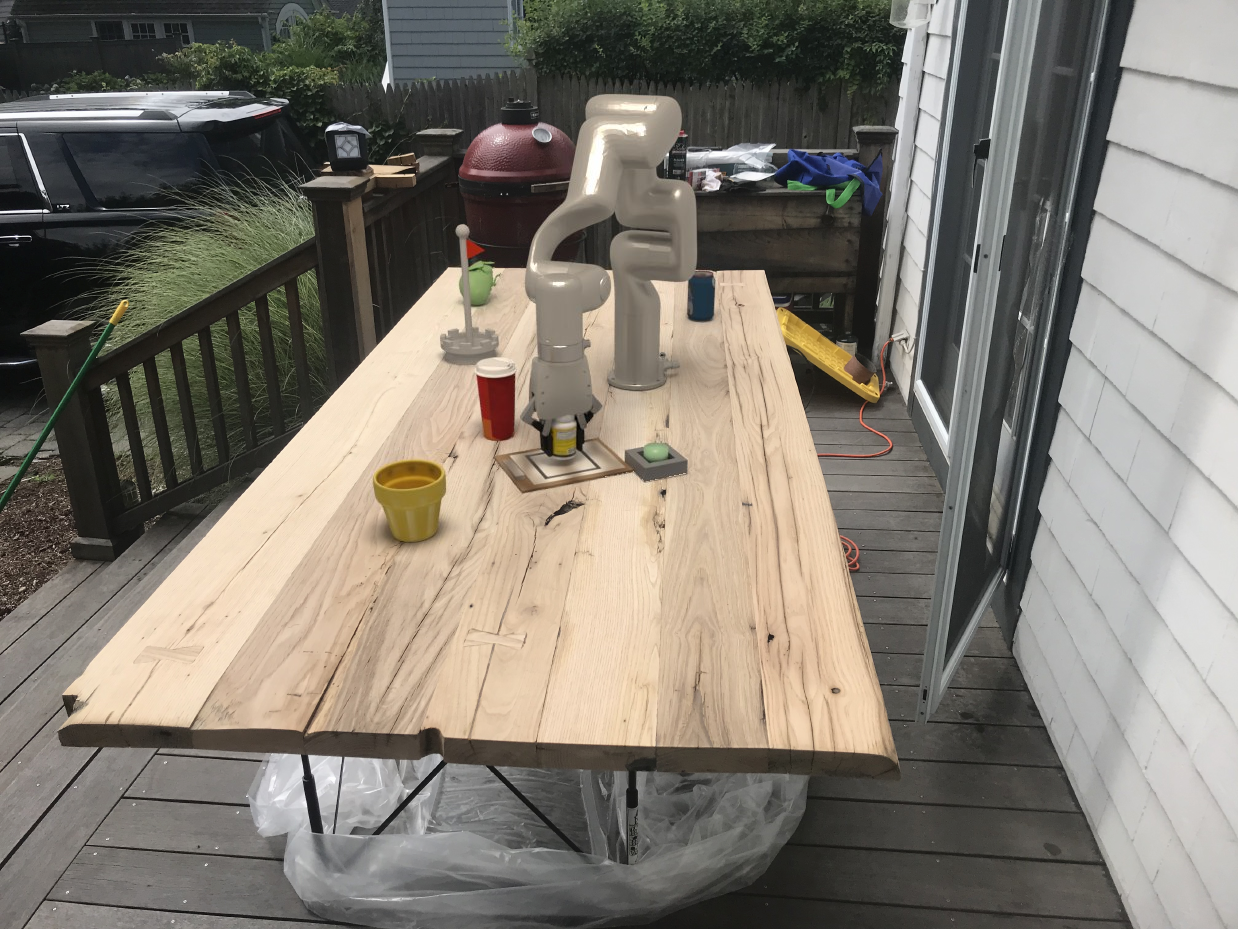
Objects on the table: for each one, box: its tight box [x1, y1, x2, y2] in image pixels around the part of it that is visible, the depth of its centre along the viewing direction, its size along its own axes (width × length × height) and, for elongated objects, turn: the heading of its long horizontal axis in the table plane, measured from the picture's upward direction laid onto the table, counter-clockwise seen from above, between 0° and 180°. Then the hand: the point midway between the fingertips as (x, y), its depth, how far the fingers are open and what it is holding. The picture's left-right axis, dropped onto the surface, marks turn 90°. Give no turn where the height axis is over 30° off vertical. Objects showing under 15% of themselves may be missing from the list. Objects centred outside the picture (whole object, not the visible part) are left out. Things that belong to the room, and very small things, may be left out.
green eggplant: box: [458, 260, 502, 306], centre depth 255 cm, size 12×11×11 cm
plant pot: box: [372, 458, 447, 543], centre depth 141 cm, size 10×10×10 cm
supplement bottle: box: [550, 415, 577, 460], centre depth 162 cm, size 5×5×8 cm
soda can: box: [686, 269, 717, 323], centre depth 242 cm, size 7×7×12 cm
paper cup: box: [473, 356, 518, 442], centre depth 173 cm, size 8×8×14 cm
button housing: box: [624, 442, 689, 482], centre depth 162 cm, size 8×8×3 cm
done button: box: [643, 442, 668, 463], centre depth 162 cm, size 4×4×3 cm
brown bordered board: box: [493, 437, 633, 494], centre depth 164 cm, size 20×15×1 cm
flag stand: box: [439, 223, 500, 367], centre depth 210 cm, size 13×13×30 cm
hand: (562, 450), depth 163 cm, fingers closed on supplement bottle, 4 cm apart
